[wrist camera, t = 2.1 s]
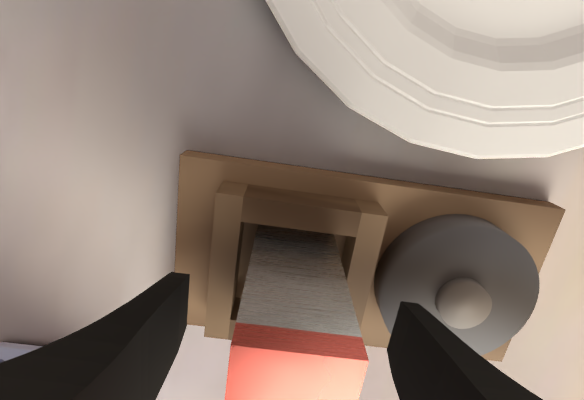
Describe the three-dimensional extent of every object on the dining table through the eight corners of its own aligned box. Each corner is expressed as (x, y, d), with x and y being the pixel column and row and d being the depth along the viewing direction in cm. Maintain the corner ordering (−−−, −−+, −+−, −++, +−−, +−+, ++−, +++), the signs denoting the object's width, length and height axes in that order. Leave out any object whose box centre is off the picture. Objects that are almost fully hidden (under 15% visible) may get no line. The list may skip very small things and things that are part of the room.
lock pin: (320, 296, 16) (342, 458, 9) (250, 287, 16) (219, 446, 9) (333, 232, 15) (368, 361, 8) (258, 222, 15) (230, 345, 8)
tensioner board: (490, 346, 18) (527, 396, 16) (178, 309, 18) (156, 353, 15) (549, 201, 16) (605, 229, 13) (186, 150, 15) (162, 166, 12)
